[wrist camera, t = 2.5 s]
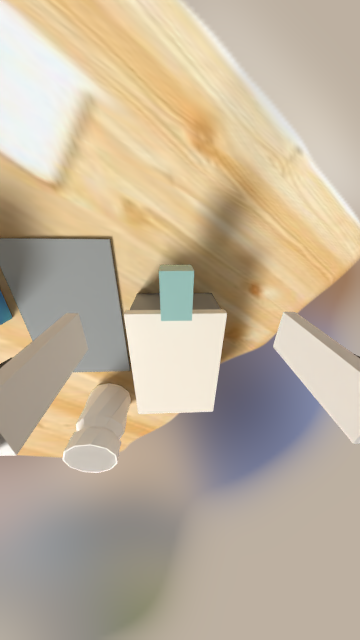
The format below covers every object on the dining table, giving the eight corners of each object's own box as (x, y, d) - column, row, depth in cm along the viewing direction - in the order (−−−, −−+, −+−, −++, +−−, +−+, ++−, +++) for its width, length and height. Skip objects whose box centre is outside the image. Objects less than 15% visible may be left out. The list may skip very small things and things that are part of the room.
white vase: (82, 389, 39) (49, 452, 28) (119, 378, 38) (99, 438, 27) (104, 414, 43) (82, 477, 32) (138, 404, 42) (127, 465, 31)
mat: (-10, 238, 25) (-13, 238, 25) (110, 239, 26) (109, 239, 25) (47, 371, 36) (46, 372, 36) (130, 369, 37) (129, 370, 37)
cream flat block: (121, 262, 21) (111, 270, 18) (228, 263, 22) (239, 270, 18) (140, 402, 33) (136, 424, 29) (210, 400, 33) (215, 421, 30)
